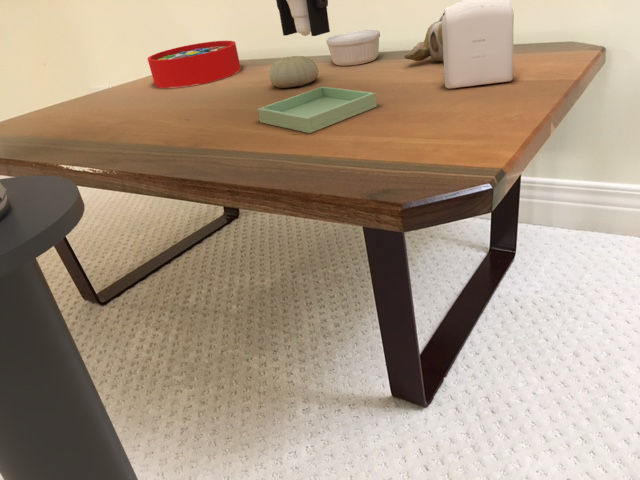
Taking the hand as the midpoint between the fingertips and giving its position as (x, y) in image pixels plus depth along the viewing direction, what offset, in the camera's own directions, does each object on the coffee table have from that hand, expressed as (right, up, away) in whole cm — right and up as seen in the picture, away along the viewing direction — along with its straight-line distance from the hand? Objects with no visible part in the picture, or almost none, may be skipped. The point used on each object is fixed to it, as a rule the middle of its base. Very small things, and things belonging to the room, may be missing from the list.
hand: (305, 33), depth 76 cm
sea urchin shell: (-3, 0, +27) cm, 27 cm away
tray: (+2, -10, +6) cm, 12 cm away
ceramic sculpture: (+26, +5, +26) cm, 37 cm away
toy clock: (-26, +9, +49) cm, 56 cm away
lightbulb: (0, -1, 0) cm, 0 cm away
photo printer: (+27, -5, +8) cm, 28 cm away
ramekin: (+10, +8, +38) cm, 40 cm away
